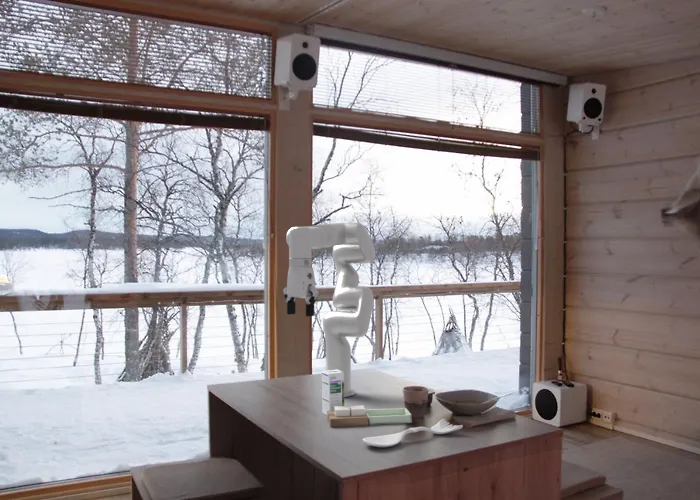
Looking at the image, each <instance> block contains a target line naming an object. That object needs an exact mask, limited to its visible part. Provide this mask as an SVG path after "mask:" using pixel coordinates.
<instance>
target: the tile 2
mask: <svg viewBox="0 0 700 500" xmlns="http://www.w3.org/2000/svg"><path fill="white" fill-rule="evenodd" d="M349 409H350V414H351V416H358V415H365V410H366V408H365V406H364V405H349Z"/></svg>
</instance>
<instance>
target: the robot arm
mask: <svg viewBox="0 0 700 500" xmlns="http://www.w3.org/2000/svg"><path fill="white" fill-rule="evenodd" d="M285 240H286V244H287V245H288V253H289V254H288V271H287V278H286V279H287V280H286V282H287V283H286V286H285V287H284V288H283V289H282V291H283V295H284V296H283V297H284V298H285V303H286V314H287V315H295V314H296V301H295V300H296V299H304V300H305V302H306V304H305V316H306V317H307V318H309V317H314V316H315V304H316V302H317V300H318V296H319V293H320V291H319V290H318V289H317V288H316V278H315V272H314V271H315V270H314V268H313V266H312V265H313V261H312V258H313V256H312V255H313V253H312V252H313V251H312V250H318V249H322V248H331V247H332V258H333V261H334V264H335V268H336V271H337V278H336V284H335V287H334V292H333V296H332V305H333V307H334V309H337V310H332V311H328V312H327V313H326V314H325V315H324V316H323V320H322V326H323V332H324V339H325V371H329V370H336V369H337V370H341V371H343V372H344V398H349V397H352V396H354V395H356V390H355V389H354V388H352V371H351V370H352V366H351V365H352V363H351V359H352V356H351V354H352V350H351V345H350V343H349V341H348V339H347V338H348V337H350V338H363V337H365V336H367V333H368V331H369V327H370V323H371V317H372V313H373V312H372V311H373V307H374V293H373V291H372V289H371V288H370V287H368V286H361V285H360V286H359V281H360V276H359V274H358V272H357V270H356V269H355V268H354V267H353V265H352V264H370V263H372V262H374V259H375V257H376V249H375V246H374V242H373V241H372V238H371V236H370V235H369V233H368V230H367V229H366V228H365V226H364V225H363V224H362V223H360V222H336V223H334V222H333V223H324V224H316V225H315V224H314V225H309V226H308V225H307V226H293V227H291V228H290V229H288V231H287V232H286V237H285ZM346 337H347V338H346Z"/></svg>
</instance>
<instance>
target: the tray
mask: <svg viewBox="0 0 700 500" xmlns="http://www.w3.org/2000/svg"><path fill="white" fill-rule="evenodd" d="M365 413H366V414H367V416H368V425H369V426H373V425H377V426H378V425H398V424H412V423H413V415H412V413H411V412H410V411H409V410H408V408H406V407H395V408H373V409H370V408H369V409H365Z"/></svg>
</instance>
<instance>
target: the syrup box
mask: <svg viewBox="0 0 700 500" xmlns="http://www.w3.org/2000/svg"><path fill="white" fill-rule="evenodd" d="M321 398H322V400H321V403H322V404H321V405H322V408H321V409H322V414H324V415H325V416H327V411H334V407H335V406H345V397H344V372H343V371H341V370H337V369H336V370H329V371H326V370H322V371H321Z"/></svg>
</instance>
